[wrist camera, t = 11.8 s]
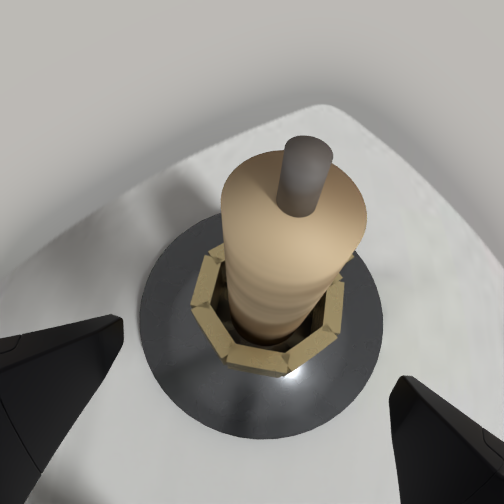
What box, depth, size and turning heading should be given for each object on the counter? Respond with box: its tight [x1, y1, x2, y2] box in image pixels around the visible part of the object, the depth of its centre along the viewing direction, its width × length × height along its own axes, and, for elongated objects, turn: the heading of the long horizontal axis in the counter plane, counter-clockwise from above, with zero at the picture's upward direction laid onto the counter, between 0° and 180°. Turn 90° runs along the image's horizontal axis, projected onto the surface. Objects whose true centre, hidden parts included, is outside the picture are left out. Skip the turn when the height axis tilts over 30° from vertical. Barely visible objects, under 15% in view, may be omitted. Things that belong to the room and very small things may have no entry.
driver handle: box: [221, 136, 367, 346], centre depth 13 cm, size 4×4×13 cm
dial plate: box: [140, 213, 383, 439], centre depth 17 cm, size 16×16×4 cm
